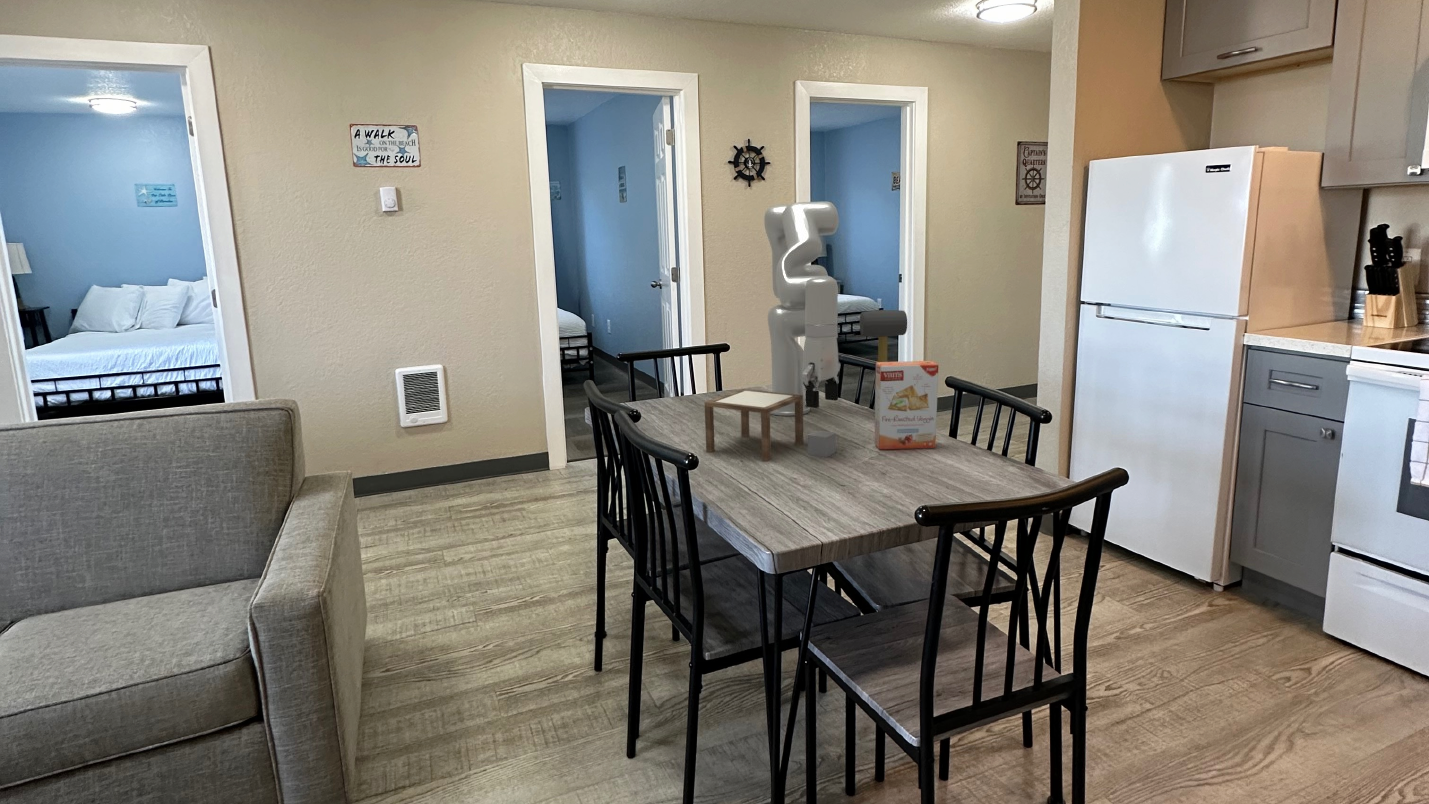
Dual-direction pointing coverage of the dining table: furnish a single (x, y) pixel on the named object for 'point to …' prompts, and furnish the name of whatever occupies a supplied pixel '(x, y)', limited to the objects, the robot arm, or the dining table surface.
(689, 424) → the dining table surface
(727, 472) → the dining table surface
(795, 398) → the frame
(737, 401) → the trapdoor
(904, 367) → the cracker box
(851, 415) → the dining table surface
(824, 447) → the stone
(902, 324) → the rubber mallet
